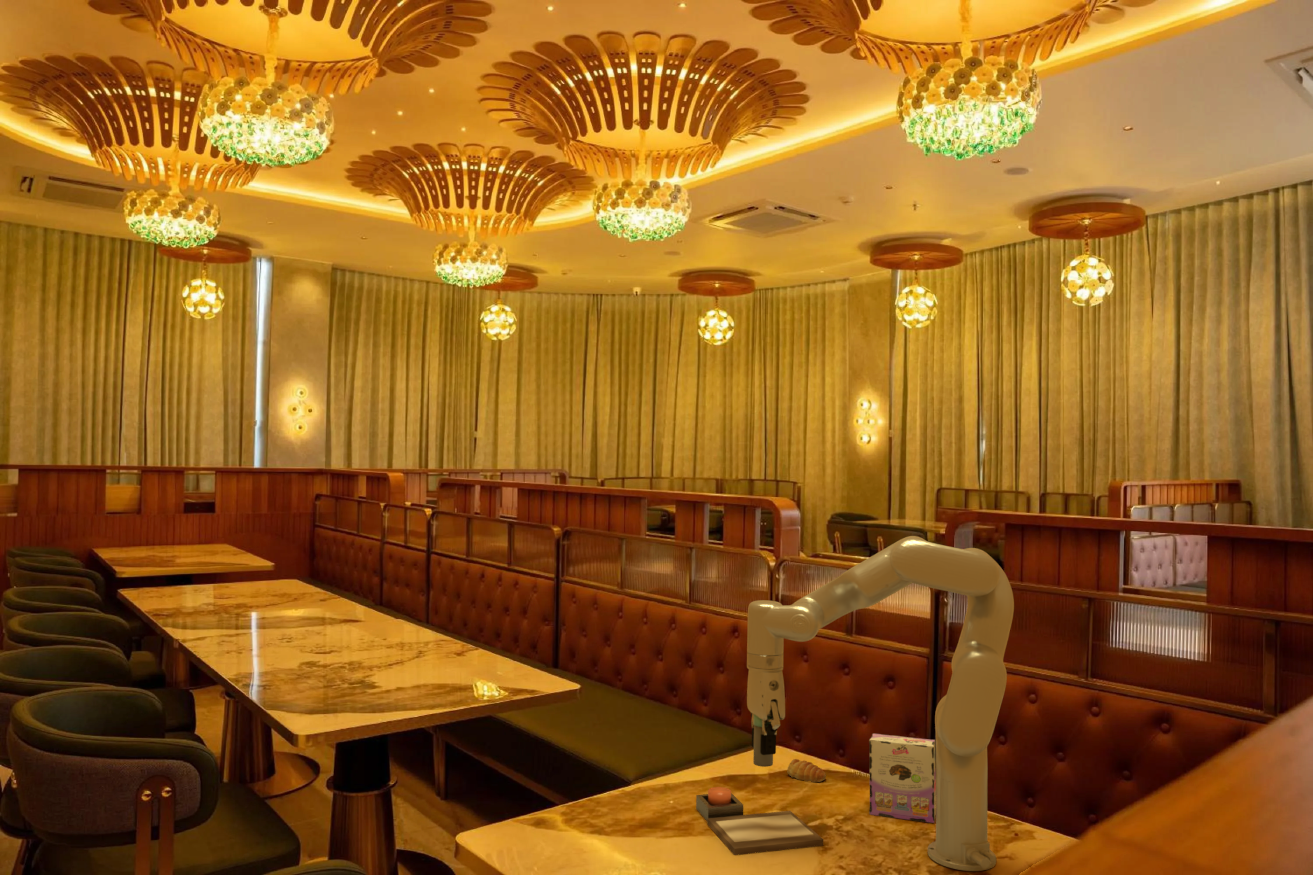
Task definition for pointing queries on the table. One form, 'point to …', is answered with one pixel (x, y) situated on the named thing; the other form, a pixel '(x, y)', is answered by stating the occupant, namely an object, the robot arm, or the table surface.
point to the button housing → (718, 807)
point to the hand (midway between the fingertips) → (763, 749)
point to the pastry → (805, 771)
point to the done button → (719, 796)
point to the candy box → (902, 777)
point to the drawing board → (764, 832)
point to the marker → (758, 757)
